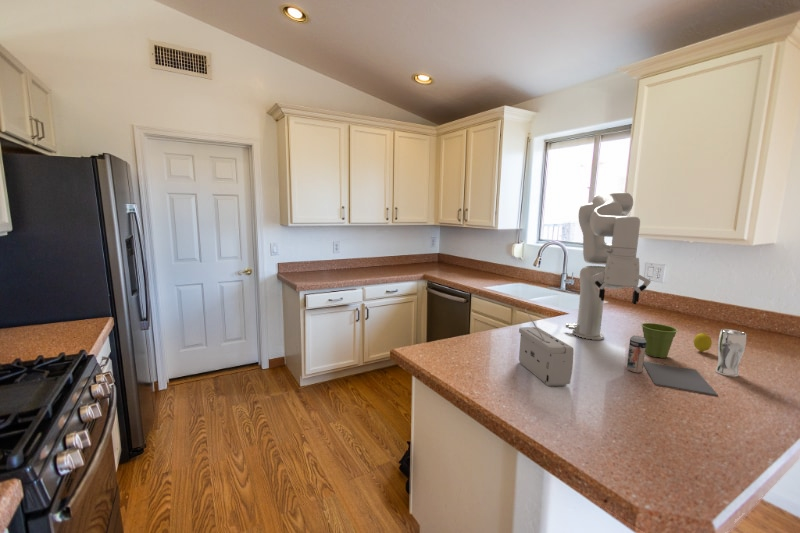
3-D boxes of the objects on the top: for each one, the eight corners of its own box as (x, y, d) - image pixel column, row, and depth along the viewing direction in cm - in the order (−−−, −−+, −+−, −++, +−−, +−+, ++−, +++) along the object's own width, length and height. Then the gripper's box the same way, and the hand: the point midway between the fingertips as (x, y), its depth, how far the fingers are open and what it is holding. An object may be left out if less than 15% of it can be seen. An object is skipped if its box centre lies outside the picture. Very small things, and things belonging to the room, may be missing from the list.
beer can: (623, 367, 128) (627, 335, 127) (635, 367, 129) (639, 335, 127) (632, 373, 124) (637, 339, 122) (645, 373, 124) (650, 339, 122)
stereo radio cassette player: (571, 387, 112) (578, 325, 109) (547, 389, 111) (553, 326, 108) (535, 360, 133) (540, 307, 130) (515, 361, 131) (519, 308, 128)
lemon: (713, 355, 143) (716, 335, 142) (697, 353, 144) (700, 334, 143) (704, 350, 149) (707, 331, 148) (689, 348, 150) (692, 330, 149)
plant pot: (676, 355, 142) (680, 327, 141) (672, 363, 134) (676, 334, 132) (640, 346, 150) (644, 320, 149) (634, 354, 142) (638, 326, 140)
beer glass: (733, 370, 128) (740, 330, 126) (744, 379, 122) (752, 336, 120) (709, 367, 131) (716, 327, 128) (719, 375, 124) (726, 333, 122)
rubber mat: (654, 384, 116) (654, 383, 116) (642, 362, 134) (642, 361, 134) (717, 396, 109) (718, 394, 109) (695, 371, 127) (695, 369, 127)
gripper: (595, 251, 124) (590, 300, 126) (656, 255, 117) (649, 307, 119) (594, 250, 130) (589, 296, 133) (651, 253, 124) (644, 302, 126)
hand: (617, 301), depth 126 cm, fingers open, 9 cm apart
